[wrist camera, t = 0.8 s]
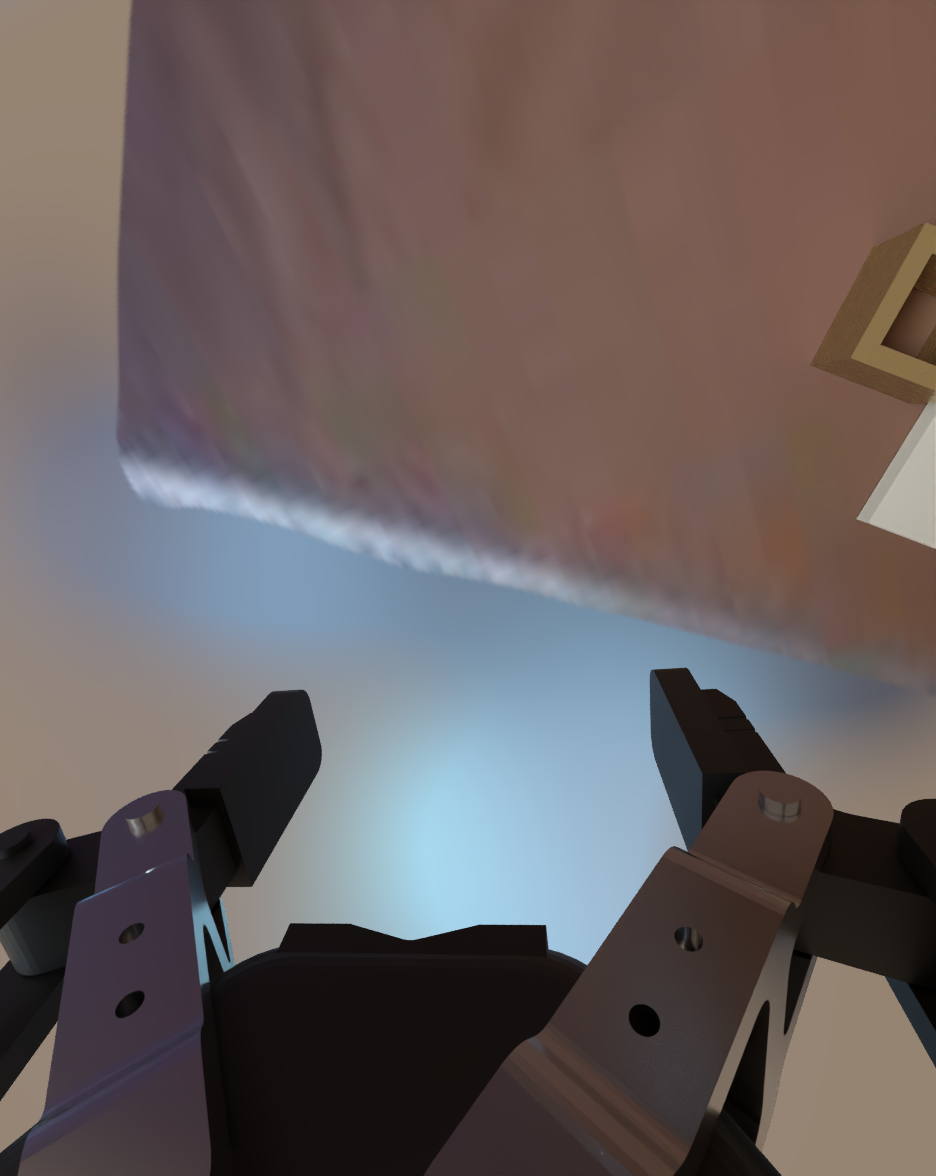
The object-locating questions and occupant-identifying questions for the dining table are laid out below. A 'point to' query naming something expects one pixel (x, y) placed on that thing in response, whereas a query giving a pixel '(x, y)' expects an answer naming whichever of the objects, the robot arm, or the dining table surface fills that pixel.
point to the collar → (885, 320)
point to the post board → (909, 486)
